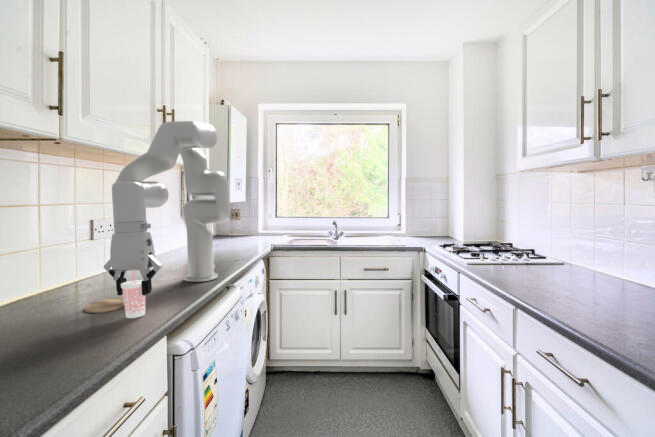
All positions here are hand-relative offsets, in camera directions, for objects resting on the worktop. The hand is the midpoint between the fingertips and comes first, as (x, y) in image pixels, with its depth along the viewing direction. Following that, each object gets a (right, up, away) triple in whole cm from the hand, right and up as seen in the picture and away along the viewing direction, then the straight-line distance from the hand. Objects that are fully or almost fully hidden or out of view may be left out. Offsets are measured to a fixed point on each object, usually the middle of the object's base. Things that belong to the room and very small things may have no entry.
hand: (134, 293), depth 92 cm
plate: (-14, -6, +10) cm, 18 cm away
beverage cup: (0, -6, +1) cm, 6 cm away
